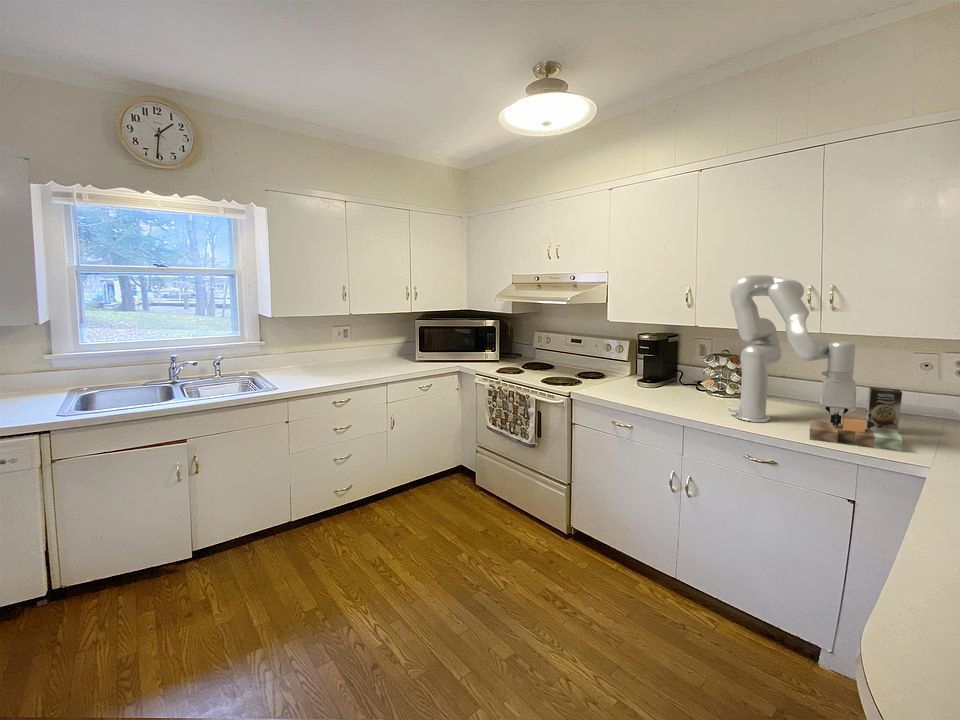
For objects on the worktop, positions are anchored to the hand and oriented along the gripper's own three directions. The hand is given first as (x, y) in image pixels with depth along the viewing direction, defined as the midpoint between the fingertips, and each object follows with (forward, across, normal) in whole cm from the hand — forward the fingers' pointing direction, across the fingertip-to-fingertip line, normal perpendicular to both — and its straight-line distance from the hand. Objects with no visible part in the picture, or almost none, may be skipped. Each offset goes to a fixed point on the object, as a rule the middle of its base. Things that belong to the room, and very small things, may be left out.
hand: (835, 425), depth 170 cm
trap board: (+5, +5, 0) cm, 7 cm away
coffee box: (+5, +14, +19) cm, 24 cm away
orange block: (+1, +5, 0) cm, 5 cm away
